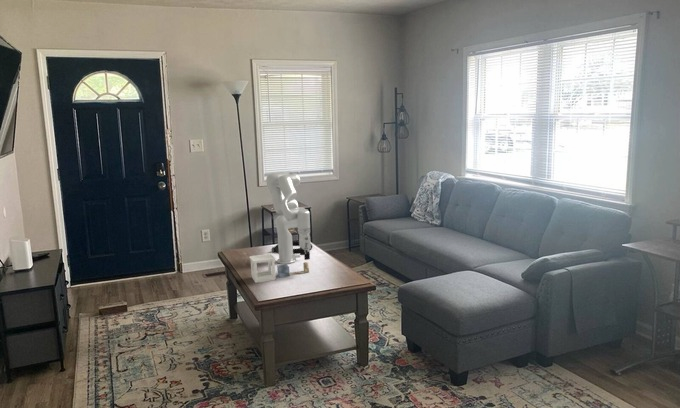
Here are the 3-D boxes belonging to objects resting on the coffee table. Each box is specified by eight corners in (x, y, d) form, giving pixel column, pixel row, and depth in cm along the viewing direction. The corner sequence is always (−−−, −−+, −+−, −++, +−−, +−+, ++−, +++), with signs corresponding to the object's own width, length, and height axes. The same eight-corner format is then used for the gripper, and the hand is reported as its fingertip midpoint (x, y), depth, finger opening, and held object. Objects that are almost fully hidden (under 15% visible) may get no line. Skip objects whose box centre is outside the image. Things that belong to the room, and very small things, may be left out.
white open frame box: (271, 274, 323) (270, 253, 321) (276, 279, 311) (275, 258, 309) (250, 277, 318) (249, 256, 316) (254, 283, 306) (253, 261, 304)
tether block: (307, 270, 327) (307, 261, 326) (310, 273, 321) (309, 263, 320) (277, 275, 321) (277, 265, 320) (280, 277, 315) (279, 268, 314)
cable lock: (317, 246, 374) (277, 251, 363) (318, 251, 375) (277, 257, 363) (304, 238, 399) (266, 243, 388) (305, 243, 400) (267, 248, 389)
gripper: (314, 233, 313) (314, 260, 316) (305, 226, 329) (306, 252, 332) (302, 234, 310) (303, 262, 314) (294, 227, 326) (295, 254, 330)
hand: (304, 257), depth 323 cm, fingers open, 9 cm apart
